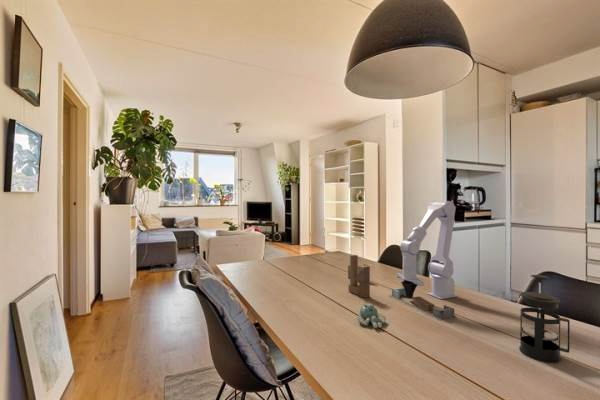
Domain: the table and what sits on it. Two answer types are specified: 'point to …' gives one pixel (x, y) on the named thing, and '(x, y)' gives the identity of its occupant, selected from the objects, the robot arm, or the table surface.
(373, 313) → the stuffed animal
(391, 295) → the track
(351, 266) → the wooden block
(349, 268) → the architectural model on board
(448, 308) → the grey c-shaped bracket
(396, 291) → the cap
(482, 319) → the table surface
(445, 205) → the robot arm
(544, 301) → the french press
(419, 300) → the brown bar
